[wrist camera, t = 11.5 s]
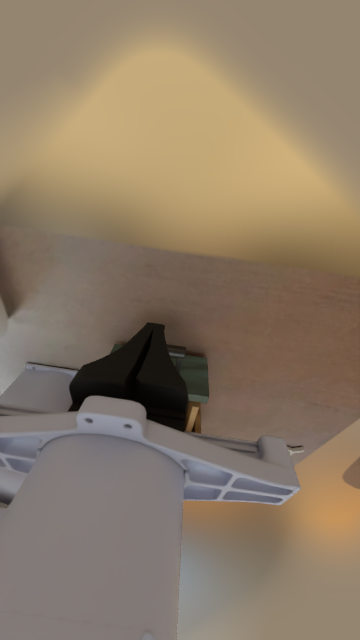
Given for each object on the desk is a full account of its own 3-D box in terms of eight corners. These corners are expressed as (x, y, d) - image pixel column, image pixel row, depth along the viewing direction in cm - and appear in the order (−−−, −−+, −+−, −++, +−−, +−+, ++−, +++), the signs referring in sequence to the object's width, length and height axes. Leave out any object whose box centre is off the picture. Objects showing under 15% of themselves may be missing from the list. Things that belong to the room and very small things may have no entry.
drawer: (113, 318, 26) (91, 352, 21) (214, 334, 26) (218, 371, 21) (118, 402, 36) (104, 440, 30) (191, 413, 36) (190, 452, 30)
